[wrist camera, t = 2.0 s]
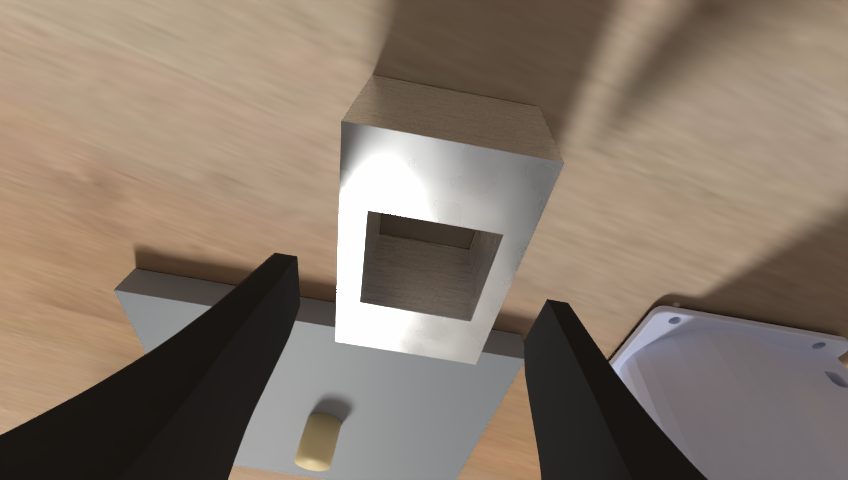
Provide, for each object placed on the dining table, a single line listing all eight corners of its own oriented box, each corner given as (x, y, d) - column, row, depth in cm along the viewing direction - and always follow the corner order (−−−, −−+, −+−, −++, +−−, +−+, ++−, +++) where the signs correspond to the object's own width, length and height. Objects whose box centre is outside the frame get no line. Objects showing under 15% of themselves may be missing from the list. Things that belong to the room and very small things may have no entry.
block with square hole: (539, 107, 13) (564, 162, 9) (473, 291, 18) (475, 364, 15) (372, 74, 12) (341, 120, 9) (357, 271, 18) (335, 341, 15)
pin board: (521, 334, 20) (532, 408, 17) (446, 477, 32) (444, 535, 29) (135, 268, 19) (71, 332, 16) (210, 440, 32) (182, 496, 28)
